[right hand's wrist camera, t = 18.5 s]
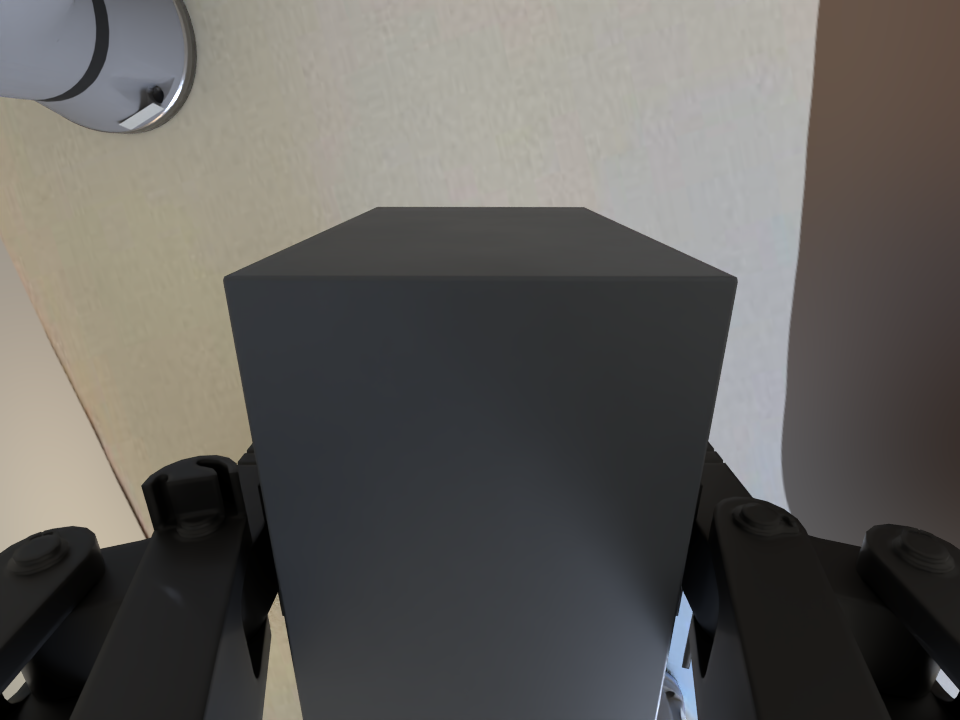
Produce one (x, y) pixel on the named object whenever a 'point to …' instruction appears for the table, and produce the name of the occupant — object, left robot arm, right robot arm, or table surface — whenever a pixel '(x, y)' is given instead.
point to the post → (480, 457)
